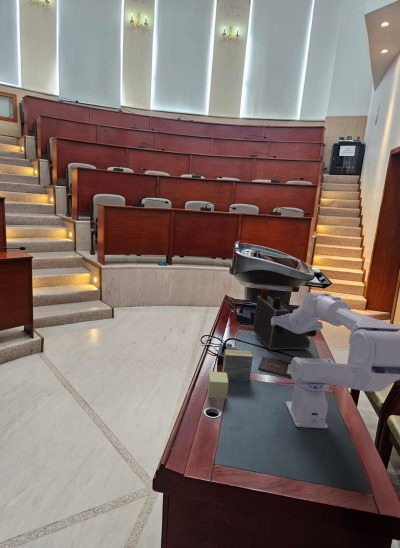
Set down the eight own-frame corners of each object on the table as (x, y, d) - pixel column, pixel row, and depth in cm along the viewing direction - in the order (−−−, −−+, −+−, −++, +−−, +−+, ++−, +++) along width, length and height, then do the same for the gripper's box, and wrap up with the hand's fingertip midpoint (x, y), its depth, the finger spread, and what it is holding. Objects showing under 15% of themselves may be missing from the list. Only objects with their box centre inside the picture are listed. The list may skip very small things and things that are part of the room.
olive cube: (226, 399, 89) (228, 382, 88) (208, 397, 89) (209, 381, 87) (224, 388, 94) (226, 372, 92) (207, 387, 93) (208, 371, 92)
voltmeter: (309, 351, 122) (318, 300, 117) (268, 352, 118) (276, 300, 113) (289, 333, 137) (296, 287, 132) (252, 333, 133) (258, 286, 128)
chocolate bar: (262, 356, 114) (317, 369, 108) (262, 358, 114) (316, 371, 108) (258, 368, 105) (316, 382, 100) (257, 370, 105) (316, 385, 100)
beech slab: (249, 380, 98) (252, 356, 97) (223, 379, 98) (225, 355, 96) (247, 374, 102) (250, 351, 100) (222, 373, 101) (224, 349, 100)
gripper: (328, 306, 91) (308, 322, 103) (277, 300, 90) (263, 317, 102) (331, 330, 88) (310, 344, 100) (278, 324, 87) (263, 339, 99)
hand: (286, 332), depth 101 cm, fingers open, 7 cm apart
